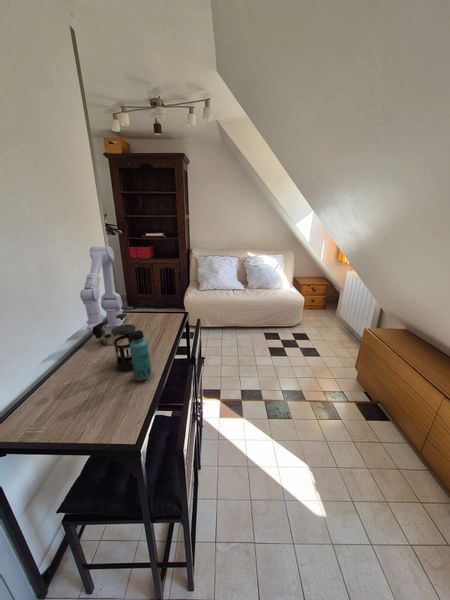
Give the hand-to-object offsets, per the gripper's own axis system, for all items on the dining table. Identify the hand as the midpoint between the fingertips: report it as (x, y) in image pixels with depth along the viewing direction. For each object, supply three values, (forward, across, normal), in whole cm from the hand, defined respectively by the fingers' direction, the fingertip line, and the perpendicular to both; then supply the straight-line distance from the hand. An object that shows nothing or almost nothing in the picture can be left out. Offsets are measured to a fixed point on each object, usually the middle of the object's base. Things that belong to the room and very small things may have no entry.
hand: (98, 337), depth 124 cm
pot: (+2, 0, +6) cm, 7 cm away
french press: (+2, +22, +21) cm, 30 cm away
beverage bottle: (+2, +32, +29) cm, 43 cm away
